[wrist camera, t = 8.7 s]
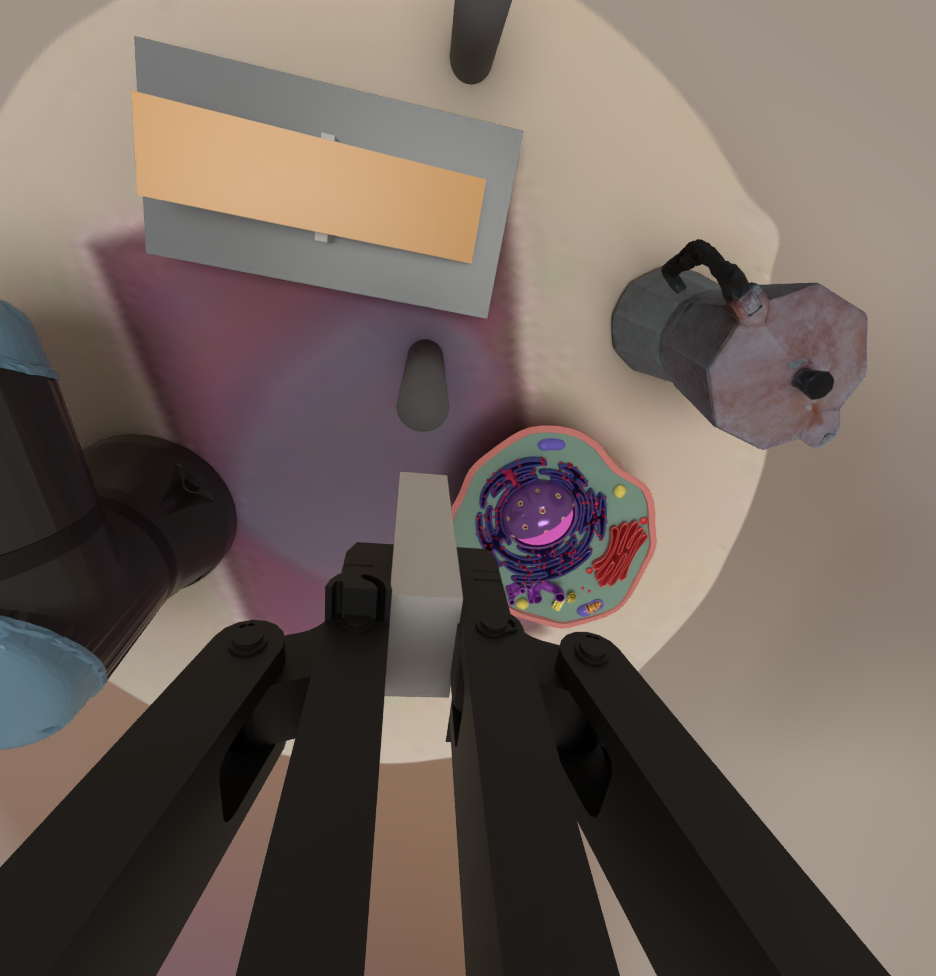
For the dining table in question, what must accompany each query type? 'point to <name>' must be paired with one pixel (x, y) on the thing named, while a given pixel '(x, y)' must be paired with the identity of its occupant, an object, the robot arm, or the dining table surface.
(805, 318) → the moka pot
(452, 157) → the block
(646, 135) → the dining table surface
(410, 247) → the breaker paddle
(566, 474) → the cell model
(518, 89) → the dining table surface
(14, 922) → the robot arm
